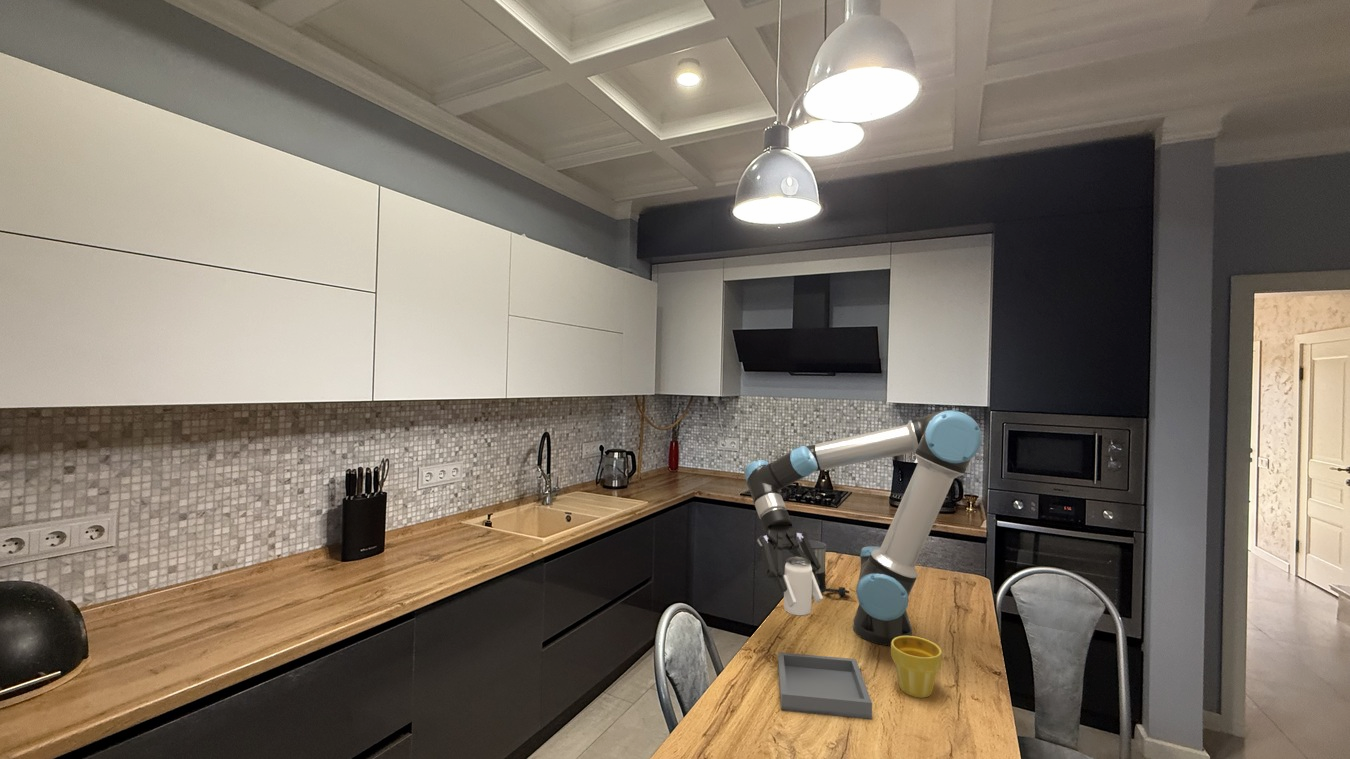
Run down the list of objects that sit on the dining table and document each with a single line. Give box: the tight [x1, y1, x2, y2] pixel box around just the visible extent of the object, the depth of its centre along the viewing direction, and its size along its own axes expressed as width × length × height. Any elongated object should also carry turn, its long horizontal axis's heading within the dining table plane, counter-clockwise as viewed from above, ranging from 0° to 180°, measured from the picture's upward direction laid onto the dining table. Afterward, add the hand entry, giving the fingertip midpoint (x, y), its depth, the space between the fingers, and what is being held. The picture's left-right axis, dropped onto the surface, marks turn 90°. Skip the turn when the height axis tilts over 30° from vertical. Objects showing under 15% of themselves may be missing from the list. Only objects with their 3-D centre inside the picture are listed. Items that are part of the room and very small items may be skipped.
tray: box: [777, 651, 873, 720], centre depth 121 cm, size 18×18×3 cm
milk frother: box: [798, 539, 850, 597], centre depth 179 cm, size 14×16×15 cm
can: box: [783, 556, 813, 617], centre depth 131 cm, size 6×6×12 cm
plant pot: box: [890, 635, 943, 699], centre depth 122 cm, size 10×10×10 cm
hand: (806, 602), depth 127 cm, fingers closed on can, 6 cm apart
